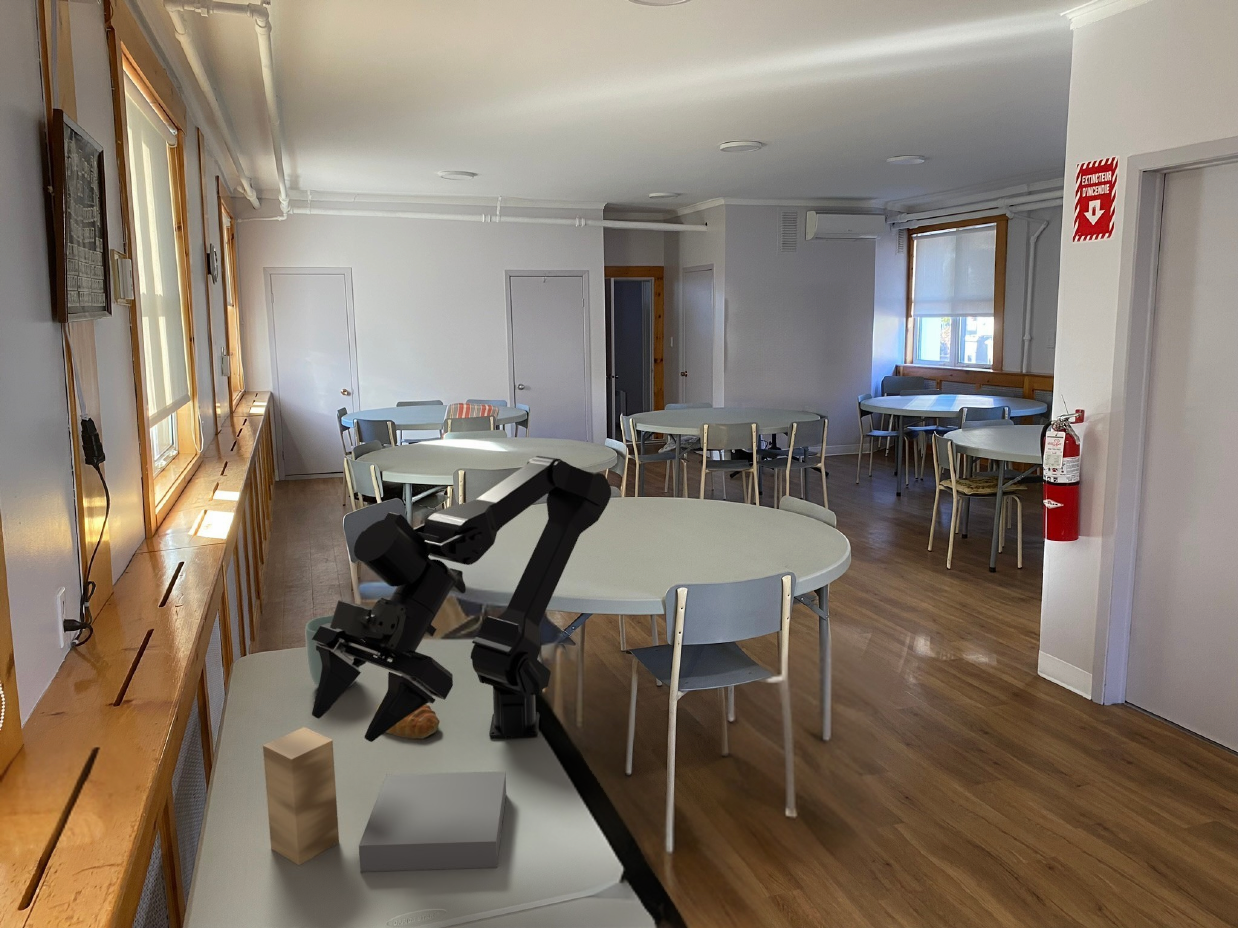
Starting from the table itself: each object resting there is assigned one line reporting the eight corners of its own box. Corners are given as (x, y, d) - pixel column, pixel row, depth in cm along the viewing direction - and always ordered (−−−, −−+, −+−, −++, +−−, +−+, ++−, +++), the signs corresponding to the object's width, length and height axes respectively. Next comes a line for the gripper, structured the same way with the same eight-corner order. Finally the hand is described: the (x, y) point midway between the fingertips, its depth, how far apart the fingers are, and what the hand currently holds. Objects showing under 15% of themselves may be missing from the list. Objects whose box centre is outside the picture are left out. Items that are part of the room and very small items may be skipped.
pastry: (452, 728, 125) (451, 702, 124) (414, 748, 120) (413, 721, 119) (406, 710, 130) (405, 685, 130) (368, 728, 125) (366, 702, 124)
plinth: (387, 797, 107) (386, 774, 107) (506, 794, 108) (505, 771, 107) (360, 871, 94) (358, 845, 93) (496, 867, 94) (496, 841, 94)
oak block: (310, 826, 102) (303, 726, 99) (339, 842, 99) (332, 739, 96) (271, 848, 98) (262, 745, 95) (299, 865, 95) (291, 759, 92)
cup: (308, 679, 140) (303, 617, 138) (360, 671, 143) (356, 611, 141) (310, 699, 133) (305, 635, 131) (364, 691, 136) (361, 628, 134)
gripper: (321, 557, 107) (241, 676, 100) (430, 586, 96) (349, 722, 89) (377, 603, 115) (307, 716, 108) (484, 635, 104) (413, 763, 97)
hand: (340, 728), depth 100 cm, fingers open, 9 cm apart
